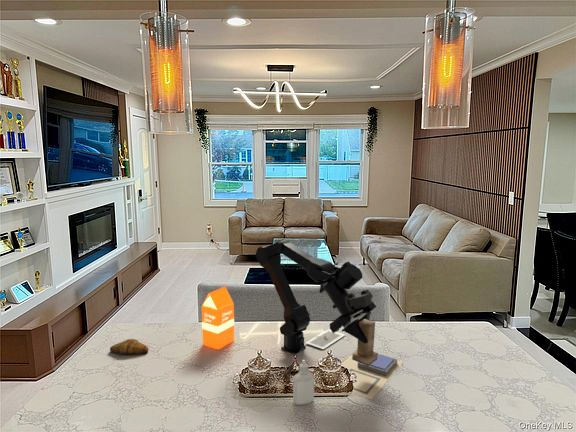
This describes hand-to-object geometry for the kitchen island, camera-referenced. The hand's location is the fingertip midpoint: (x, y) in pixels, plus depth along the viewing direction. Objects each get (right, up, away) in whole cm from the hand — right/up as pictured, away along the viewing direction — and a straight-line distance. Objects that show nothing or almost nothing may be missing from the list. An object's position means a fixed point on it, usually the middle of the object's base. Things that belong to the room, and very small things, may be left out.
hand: (370, 340), depth 119 cm
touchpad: (-11, -9, +28) cm, 32 cm away
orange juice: (-50, -9, +26) cm, 57 cm away
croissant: (-80, -10, +19) cm, 83 cm away
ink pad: (+4, -11, +10) cm, 15 cm away
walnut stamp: (-1, -6, +2) cm, 7 cm away
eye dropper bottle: (-20, -14, -9) cm, 26 cm away
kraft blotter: (0, -12, +6) cm, 13 cm away
